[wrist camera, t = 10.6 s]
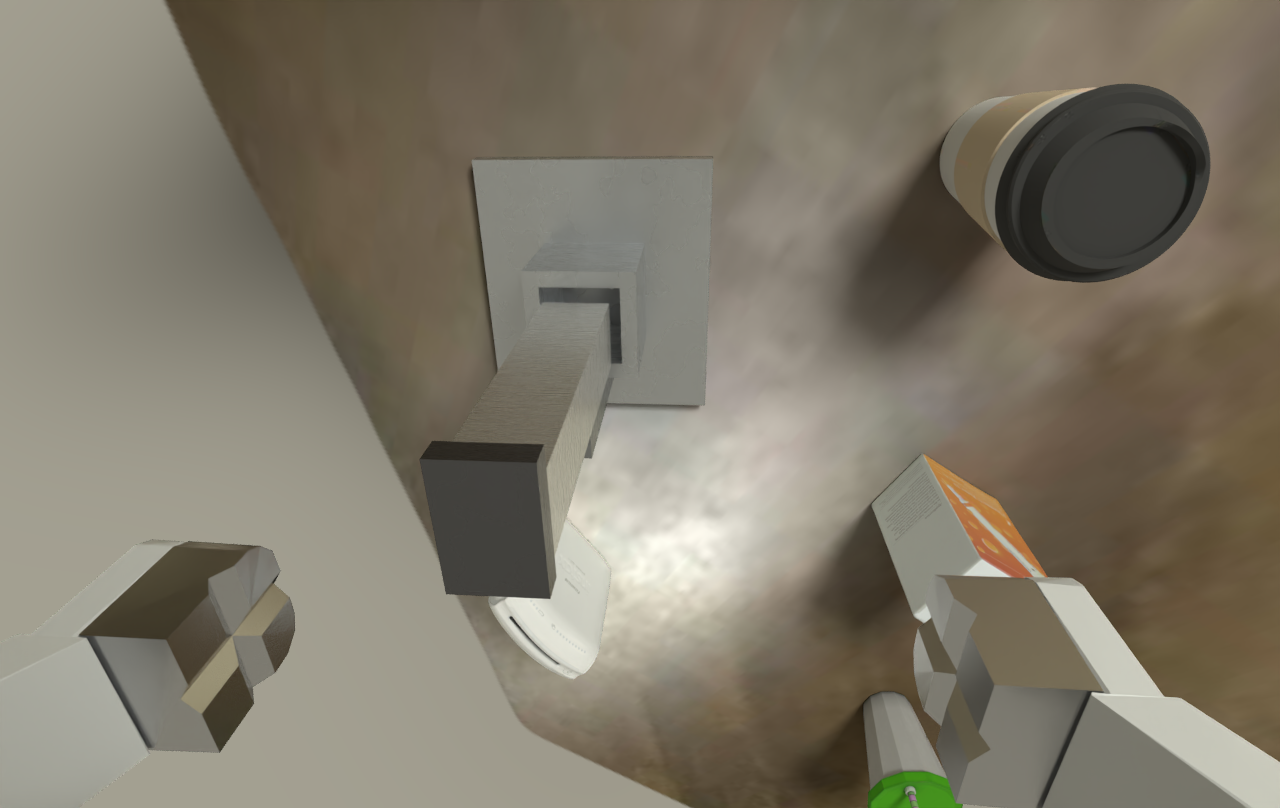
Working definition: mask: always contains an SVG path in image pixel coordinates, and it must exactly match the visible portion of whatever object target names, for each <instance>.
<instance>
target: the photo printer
mask: <svg viewBox="0 0 1280 808" xmlns="http://www.w3.org/2000/svg"><path fill="white" fill-rule="evenodd" d="M555 565H556V576H557V577H556V581H555V584H554V588H553V592H552V595H551V599H537V598H517V597H496V596H489V598H488V603H489V606H490V608H491V610H492V612H493V614H494V616H495V617H496V619H497V620H498V622H499V623H500V625H501V626H502V627H503V628H504V630H505V631H506V632H507V634H508V635H509V636H510V637H511V638H512V639H513V640H514V641H515V643H516V644H517V645H518V646H519V647H520V648H521V649H522V650H524V651H525V652H526V653H527V654H528V655H529V656H530V657H531V658H533V659H534V660H535V661H536V662H538V663H539V664H541V665H542V666H544V667H545V668H547V669H548V670H550V671H552V672H554V673H556V674H558V675H560V676H563V677H566V678H569V679H575V678H576V677H577V676H579V675H581V674H585V673H586V672H587V671H588V669H589V668H590V667H591V666H592V664H593V663H594V661H595V659H596V657H597V655H598V652H599V649H600V643H601V636H602V631H603V625H604V618H605V612H606V605H607V600H608V594H609V587H610V580H611V569H610V567H609V565H608V564H607V562H606V561H605V560H604V558H603V557H602V556H601V555H600V554H599V553H598V552H597V550H596V549H595V548H594V547H593V546H592V545H591V544H590V543H589V542H588V541H587V540H586V539H585V538H584V537H583V536H582V535H581V534H580V532H579V531H578V530H577V529H576V528H575V527H574V526H573V525H572V524H571V523H570V522H569V521H568V520H567V519H566V520H565V524H564V527H563V530H562V534H561V537H560V541H559V544H558V547H557V551H556V554H555Z"/></svg>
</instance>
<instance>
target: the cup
mask: <svg viewBox="0 0 1280 808" xmlns="http://www.w3.org/2000/svg"><path fill="white" fill-rule="evenodd" d="M863 715H864V725H865V736H866V747H867V757H868V768H869V778H870V789H871V790H870V791H869V792H868V808H962V806H963V804H959V803H956V802H955V799H954V796H953V793H952V791H951V788H950V785H949V782H948V779H947V776H946V774H945V772H944V770H943V768H942V766H941V764H940V762H939V760H938V758H937V756H936V754H935V752H934V750H933V748H932V746H931V744H930V742H929V740H928V738H927V736H926V734H925V732H924V730H923V728H922V726H921V724H920V722H919V720H918V718H917V716H916V714H915V712H914V710H913V708H912V706H911V704H910V702H909V701H908V700H907V699H906V697H905V696H904V695H901V694H899V693H896V692H879V693H877V694H874V695H872V696H870V697H869V698H868V699H867V700H866V701H865V702H864V705H863Z"/></svg>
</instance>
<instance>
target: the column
mask: <svg viewBox="0 0 1280 808" xmlns="http://www.w3.org/2000/svg"><path fill="white" fill-rule="evenodd" d="M610 368H611V340H610V314H609V303H555V302H542V304H541V306H540V307H539V309H538V310H537V312H536V313H535V315H534V316H533V318H532V319H531V321H530V322H529V324H528V326H527V327H526V329H525V330H524V332H523V333H522V335H521V336H520V338H519V339H518V341H517V342H516V344H515V346H514V347H513V349H512V350H511V352H510V353H509V355H508V356H507V358H506V359H505V361H504V362H503V364H502V366H501V367H500V369H499V370H498V372H497V373H496V375H495V376H494V378H493V379H492V381H491V382H490V384H489V386H488V387H487V389H486V390H485V392H484V393H483V395H482V396H481V398H480V399H479V401H478V402H477V404H476V405H475V407H474V409H473V410H472V412H471V413H470V415H469V416H468V418H467V419H466V421H465V422H464V424H463V425H462V427H461V429H460V430H459V432H458V433H457V435H456V436H455V438H454V439H453V441H452V442H447V441H432V442H431V444H430V445H429V447H428V448H427V449H426V451H425V452H424V454H423V455H422V457H421V458H420V464H421V469H422V474H423V479H424V484H425V489H426V494H427V499H428V504H429V509H430V515H431V520H432V525H433V530H434V535H435V540H436V545H437V550H438V555H439V560H440V565H441V571H442V576H443V581H444V586H445V591H446V594H455V595H476V596H496V597H517V598H537V599H551V595H552V592H553V588H554V584H555V581H556V577H557V576H556V565H555V554H556V551H557V547H558V544H559V541H560V537H561V534H562V530H563V527H564V524H565V520H566V517H567V514H568V510H569V507H570V503H571V500H572V497H573V493H574V490H575V487H576V483H577V480H578V476H579V473H580V470H581V466H582V463H583V459H584V456H585V453H586V449H587V446H588V443H589V439H590V436H591V432H592V429H593V426H594V422H595V419H596V415H597V412H598V409H599V405H600V402H601V399H602V395H603V392H604V388H605V385H606V382H607V378H608V375H609V371H610Z"/></svg>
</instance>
